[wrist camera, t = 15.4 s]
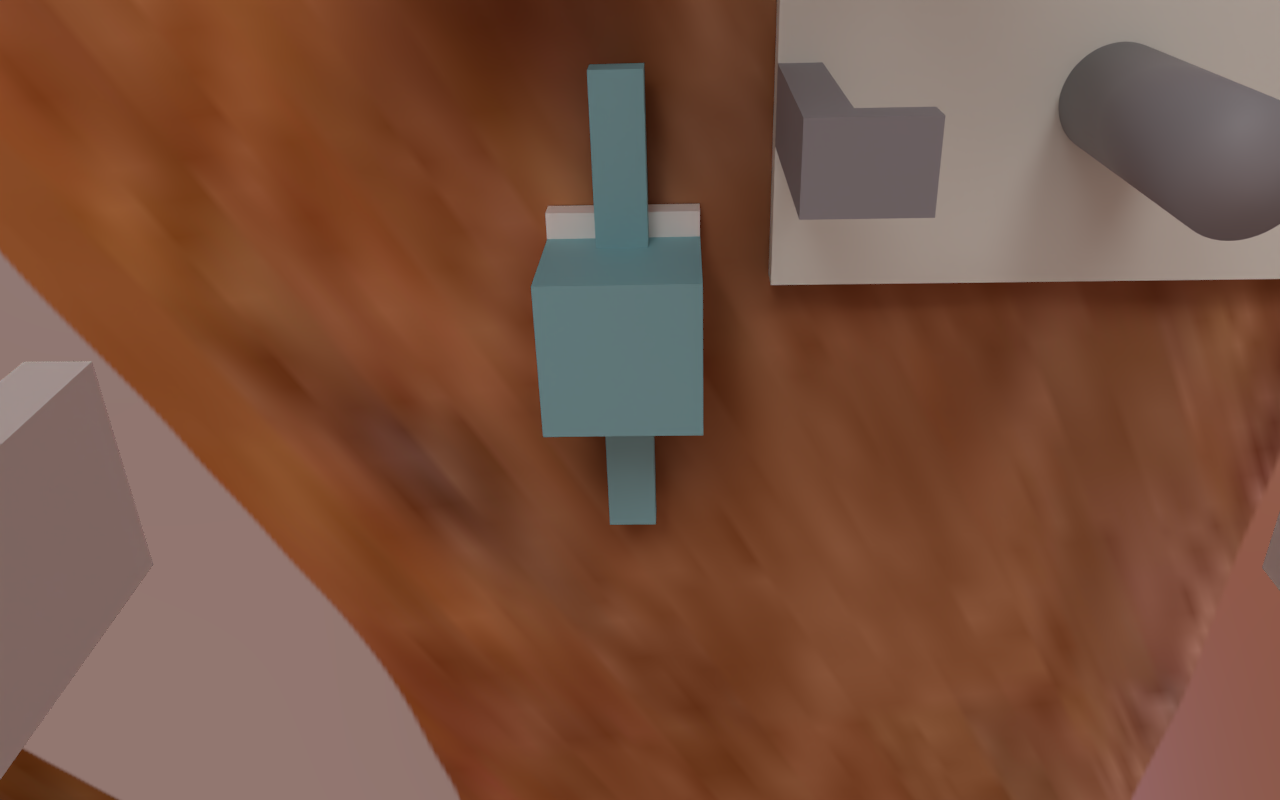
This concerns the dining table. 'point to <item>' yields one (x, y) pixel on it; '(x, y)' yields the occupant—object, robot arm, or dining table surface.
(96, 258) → the dining table surface
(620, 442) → the teal cube with tabs
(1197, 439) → the dining table surface
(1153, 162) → the white and grey stand
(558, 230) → the tile
